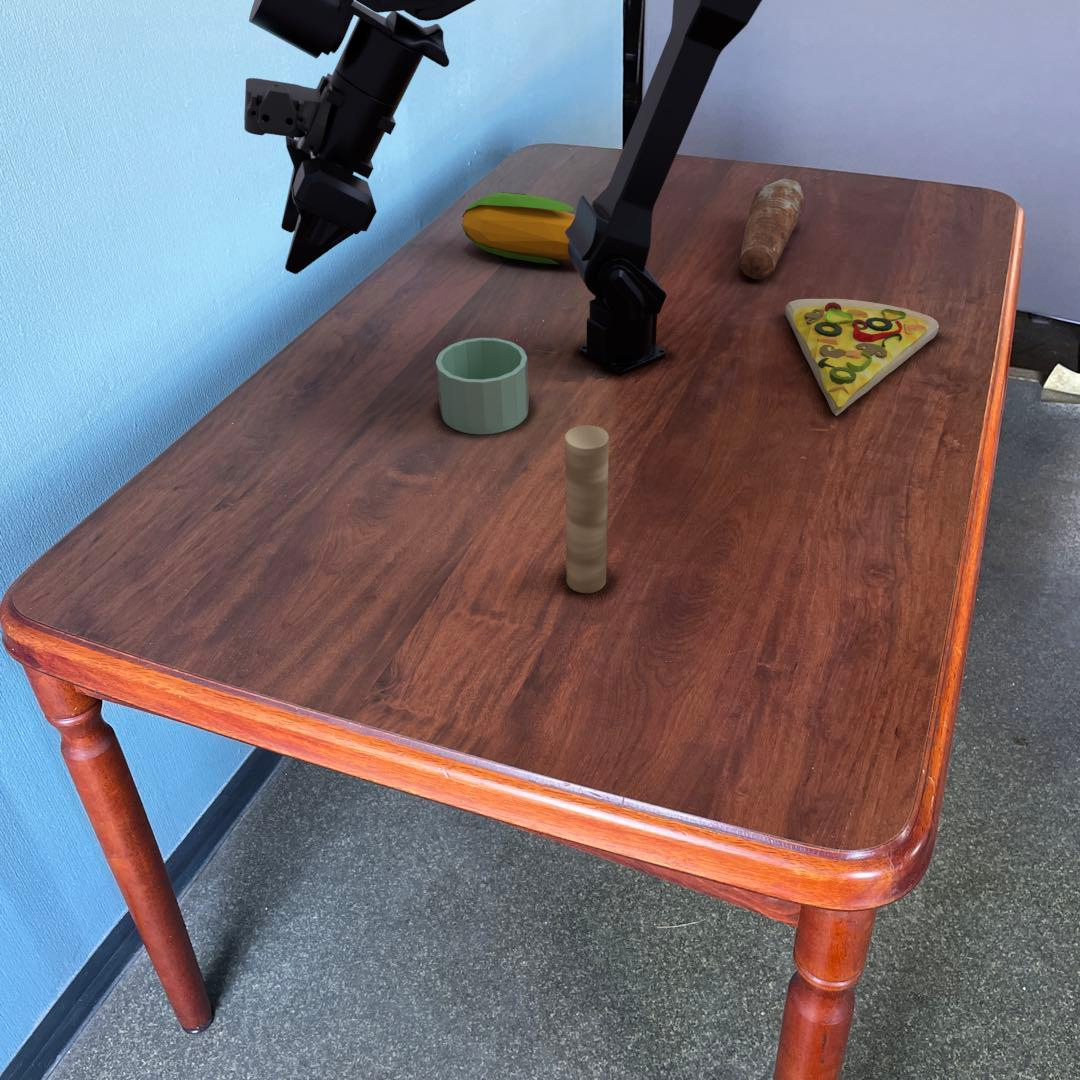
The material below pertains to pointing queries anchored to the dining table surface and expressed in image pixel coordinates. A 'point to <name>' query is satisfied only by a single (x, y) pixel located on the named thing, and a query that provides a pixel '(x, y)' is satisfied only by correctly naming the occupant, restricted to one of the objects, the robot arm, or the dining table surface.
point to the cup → (483, 385)
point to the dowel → (586, 507)
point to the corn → (519, 226)
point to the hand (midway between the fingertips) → (288, 250)
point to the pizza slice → (855, 343)
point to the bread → (770, 226)
